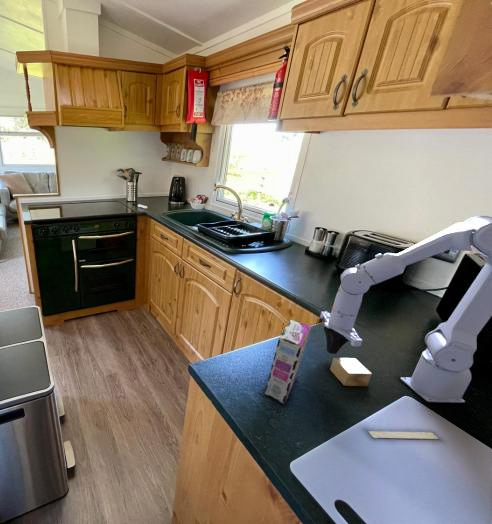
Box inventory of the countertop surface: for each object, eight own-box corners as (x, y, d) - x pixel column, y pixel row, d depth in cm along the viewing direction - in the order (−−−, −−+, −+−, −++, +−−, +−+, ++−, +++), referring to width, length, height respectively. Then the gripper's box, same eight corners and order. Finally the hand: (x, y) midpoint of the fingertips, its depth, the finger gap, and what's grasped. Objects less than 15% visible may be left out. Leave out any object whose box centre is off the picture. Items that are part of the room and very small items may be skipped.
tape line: (431, 432, 62) (431, 432, 62) (438, 439, 60) (438, 438, 60) (367, 431, 61) (367, 431, 61) (373, 437, 60) (373, 437, 60)
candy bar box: (285, 405, 67) (302, 346, 61) (263, 394, 70) (277, 337, 64) (297, 379, 75) (312, 325, 70) (277, 370, 78) (290, 318, 73)
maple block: (351, 370, 80) (355, 358, 78) (367, 386, 74) (372, 373, 73) (329, 369, 80) (333, 357, 78) (344, 385, 74) (348, 373, 73)
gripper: (315, 298, 86) (304, 337, 90) (348, 324, 72) (333, 369, 77) (338, 299, 86) (326, 337, 90) (376, 325, 72) (359, 369, 77)
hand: (331, 352), depth 83 cm, fingers closed
